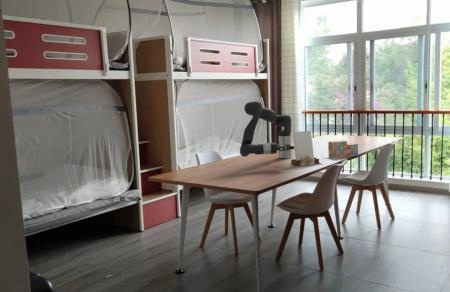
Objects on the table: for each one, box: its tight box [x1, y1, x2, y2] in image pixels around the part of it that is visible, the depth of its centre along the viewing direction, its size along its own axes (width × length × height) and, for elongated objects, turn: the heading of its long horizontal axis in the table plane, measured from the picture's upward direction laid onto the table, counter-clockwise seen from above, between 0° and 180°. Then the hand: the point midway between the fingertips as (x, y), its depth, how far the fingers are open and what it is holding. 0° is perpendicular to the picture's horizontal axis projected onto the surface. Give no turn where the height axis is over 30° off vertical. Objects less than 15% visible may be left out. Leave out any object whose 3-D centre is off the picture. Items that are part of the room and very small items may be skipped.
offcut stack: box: [300, 156, 316, 167], centre depth 295 cm, size 9×5×6 cm, turn 99°
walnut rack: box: [290, 157, 324, 168], centre depth 299 cm, size 20×12×4 cm, turn 99°
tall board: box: [292, 130, 315, 160], centre depth 302 cm, size 12×3×22 cm, turn 99°
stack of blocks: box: [327, 139, 359, 159], centre depth 330 cm, size 21×6×12 cm, turn 103°
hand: (292, 146), depth 299 cm, fingers open, 8 cm apart
